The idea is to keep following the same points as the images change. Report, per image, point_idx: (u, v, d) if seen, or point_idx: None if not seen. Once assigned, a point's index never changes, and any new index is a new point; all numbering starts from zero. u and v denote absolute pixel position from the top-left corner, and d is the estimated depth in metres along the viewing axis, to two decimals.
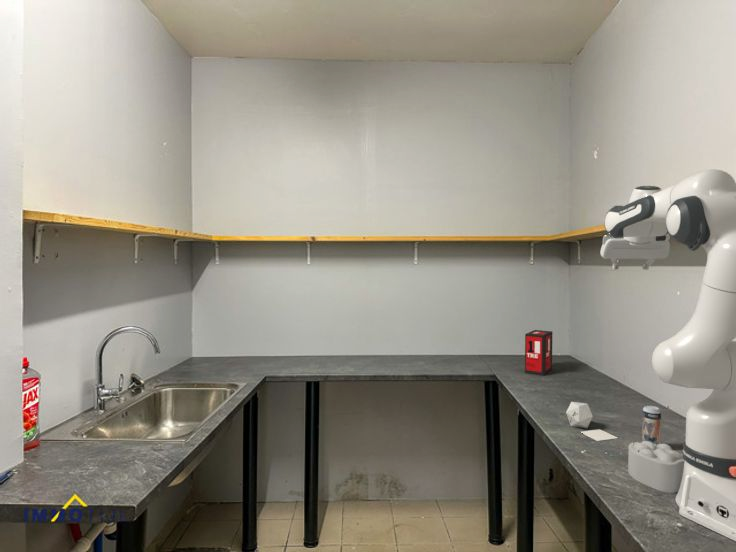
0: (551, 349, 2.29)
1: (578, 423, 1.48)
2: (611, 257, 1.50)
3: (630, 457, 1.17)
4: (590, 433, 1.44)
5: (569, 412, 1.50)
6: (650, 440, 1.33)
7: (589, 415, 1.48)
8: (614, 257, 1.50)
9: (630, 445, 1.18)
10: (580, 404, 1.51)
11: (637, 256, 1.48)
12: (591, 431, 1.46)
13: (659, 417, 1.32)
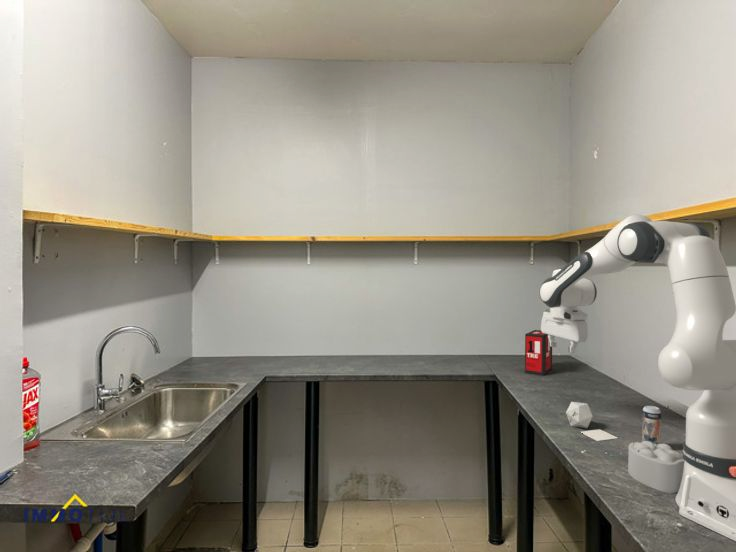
0: (551, 349, 2.29)
1: (578, 423, 1.48)
2: (545, 331, 1.67)
3: (630, 457, 1.17)
4: (590, 433, 1.44)
5: (569, 412, 1.50)
6: (650, 440, 1.33)
7: (589, 415, 1.48)
8: (546, 332, 1.66)
9: (630, 445, 1.18)
10: (580, 404, 1.51)
11: (560, 334, 1.59)
12: (591, 431, 1.46)
13: (659, 417, 1.32)
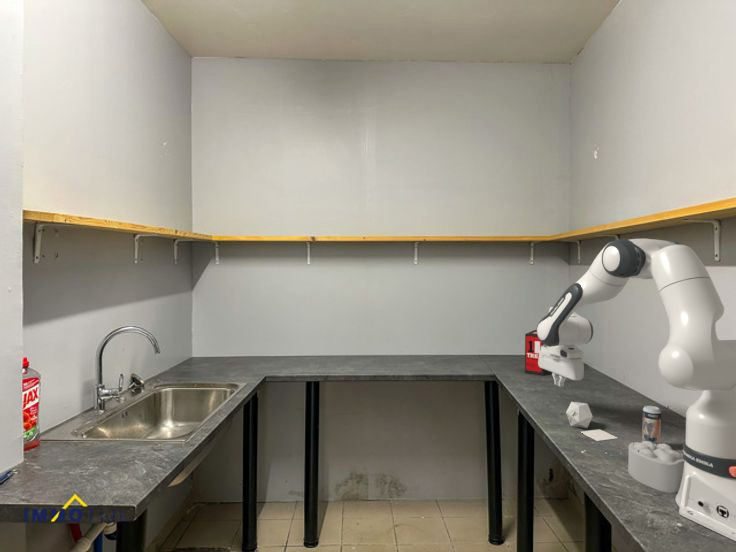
0: None
1: (578, 423, 1.48)
2: (542, 366, 1.67)
3: (630, 457, 1.17)
4: (590, 433, 1.44)
5: (569, 412, 1.50)
6: (650, 440, 1.33)
7: (589, 415, 1.48)
8: (544, 367, 1.66)
9: (630, 445, 1.18)
10: (580, 404, 1.51)
11: (556, 371, 1.59)
12: (591, 431, 1.46)
13: (659, 417, 1.32)
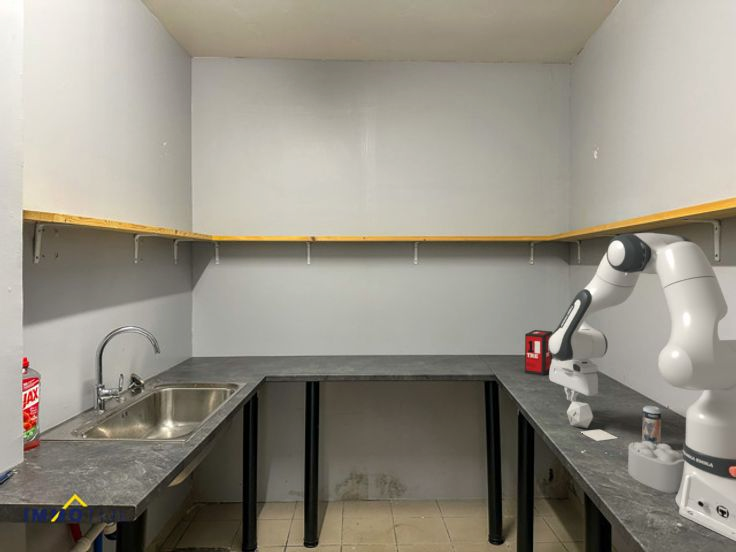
0: None
1: (578, 423, 1.48)
2: (553, 380, 1.61)
3: (630, 457, 1.17)
4: (590, 433, 1.44)
5: (570, 412, 1.50)
6: (650, 440, 1.33)
7: (590, 415, 1.47)
8: (555, 381, 1.60)
9: (630, 445, 1.18)
10: (581, 404, 1.50)
11: (569, 385, 1.53)
12: (591, 431, 1.46)
13: (659, 417, 1.32)
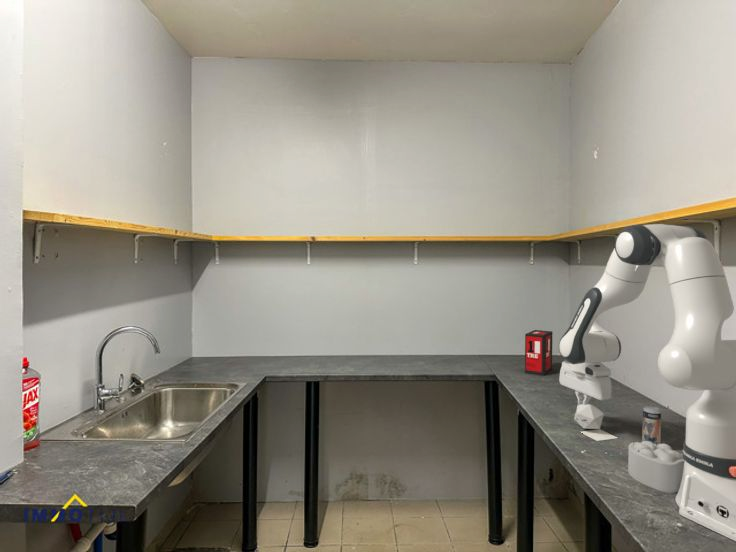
0: (551, 349, 2.29)
1: (582, 426, 1.47)
2: (564, 384, 1.56)
3: (630, 457, 1.17)
4: (590, 433, 1.44)
5: (581, 416, 1.45)
6: (650, 440, 1.33)
7: (597, 427, 1.44)
8: (566, 384, 1.55)
9: (630, 445, 1.18)
10: (596, 414, 1.44)
11: (580, 389, 1.48)
12: (591, 431, 1.46)
13: (659, 417, 1.32)
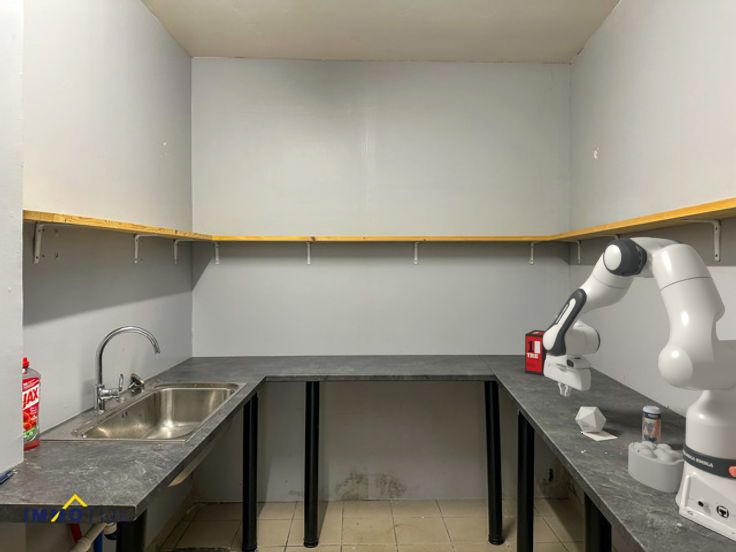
0: None
1: None
2: (548, 375, 1.64)
3: (630, 457, 1.17)
4: (590, 433, 1.44)
5: (583, 422, 1.44)
6: (650, 440, 1.33)
7: (598, 432, 1.44)
8: (549, 376, 1.63)
9: (630, 445, 1.18)
10: (599, 421, 1.42)
11: (562, 380, 1.57)
12: None
13: (659, 417, 1.32)
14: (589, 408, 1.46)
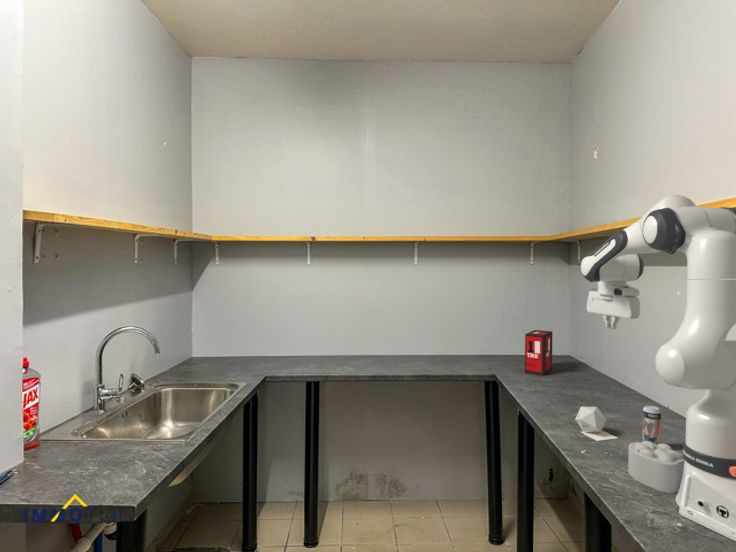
0: (551, 349, 2.29)
1: None
2: (591, 311, 1.61)
3: (630, 457, 1.17)
4: (590, 433, 1.44)
5: (583, 422, 1.44)
6: (650, 440, 1.33)
7: (598, 432, 1.44)
8: (593, 311, 1.60)
9: (630, 445, 1.18)
10: (599, 421, 1.42)
11: (609, 312, 1.54)
12: None
13: (659, 417, 1.32)
14: (589, 408, 1.46)
